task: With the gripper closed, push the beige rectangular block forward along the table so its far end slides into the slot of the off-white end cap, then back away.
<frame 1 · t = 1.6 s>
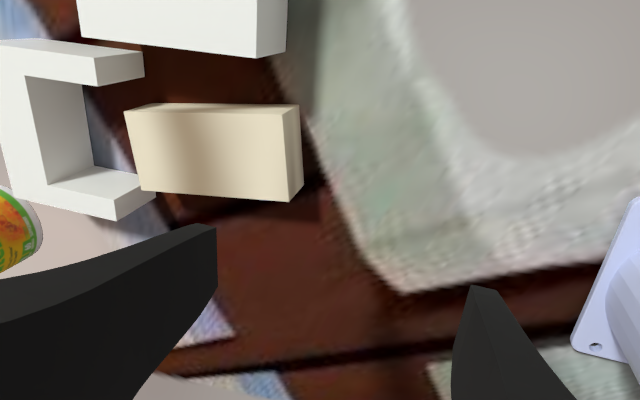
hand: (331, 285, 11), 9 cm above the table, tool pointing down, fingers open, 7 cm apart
supplement bottle: (15, 218, 28), on the table
beige rectangular block: (230, 141, 22), on the table
end cap: (98, 120, 23), on the table
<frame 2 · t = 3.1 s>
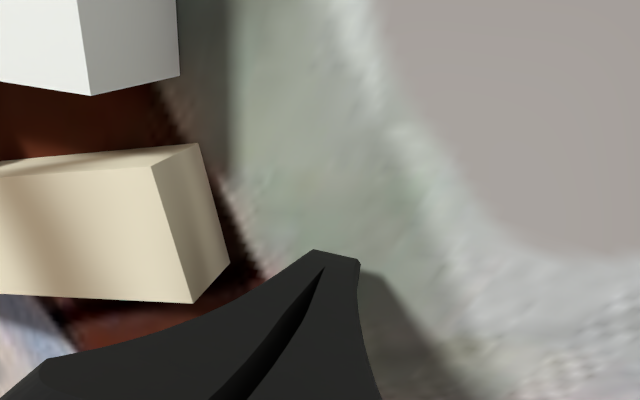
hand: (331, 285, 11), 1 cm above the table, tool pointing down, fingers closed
beige rectangular block: (118, 206, 14), on the table
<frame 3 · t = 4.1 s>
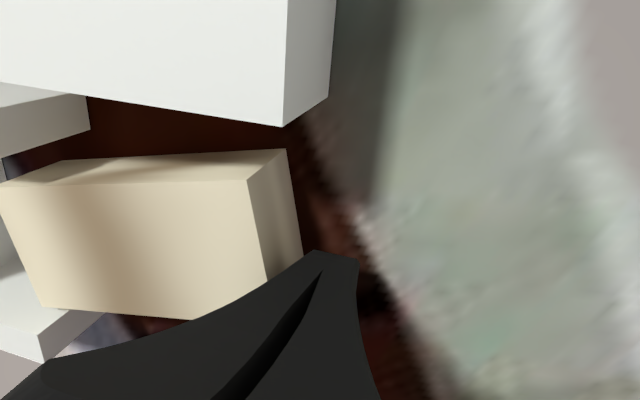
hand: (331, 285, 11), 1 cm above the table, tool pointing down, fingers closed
beige rectangular block: (179, 215, 13), on the table, touching gripper
end cap: (25, 191, 15), on the table
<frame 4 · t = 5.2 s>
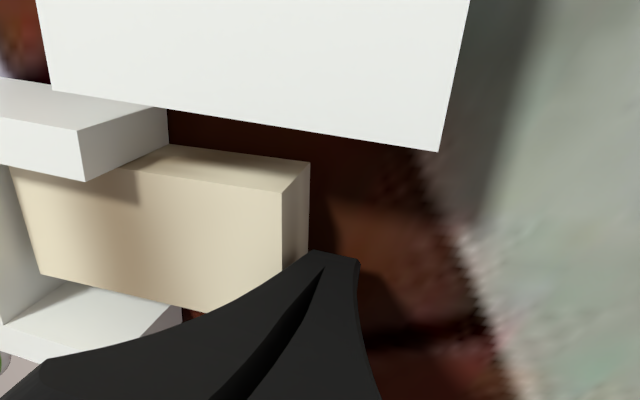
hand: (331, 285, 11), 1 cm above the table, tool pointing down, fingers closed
beige rectangular block: (192, 202, 13), on the table
end cap: (90, 206, 14), on the table
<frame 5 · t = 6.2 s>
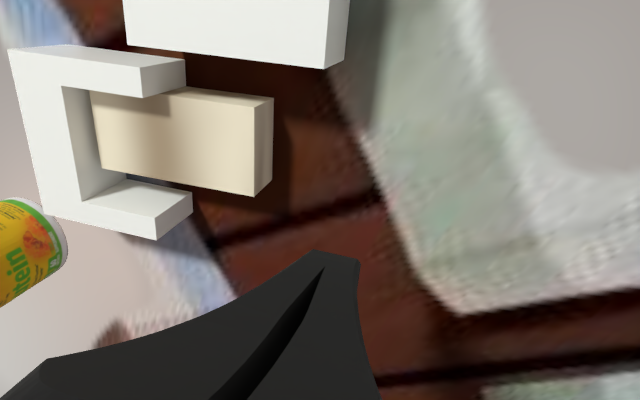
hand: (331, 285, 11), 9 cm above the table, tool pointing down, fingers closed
supplement bottle: (38, 232, 27), on the table
beige rectangular block: (200, 127, 21), on the table
end cap: (133, 132, 22), on the table
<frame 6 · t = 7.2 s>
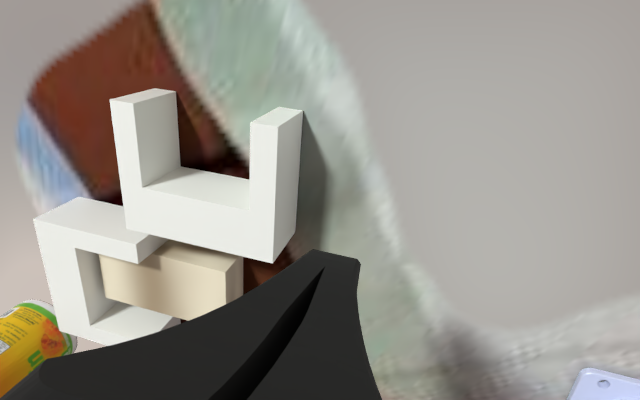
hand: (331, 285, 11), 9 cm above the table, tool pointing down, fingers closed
supplement bottle: (52, 325, 32), on the table
white u-shaped block: (226, 161, 22), on the table
beige rectangular block: (185, 262, 26), on the table
end cap: (131, 262, 27), on the table
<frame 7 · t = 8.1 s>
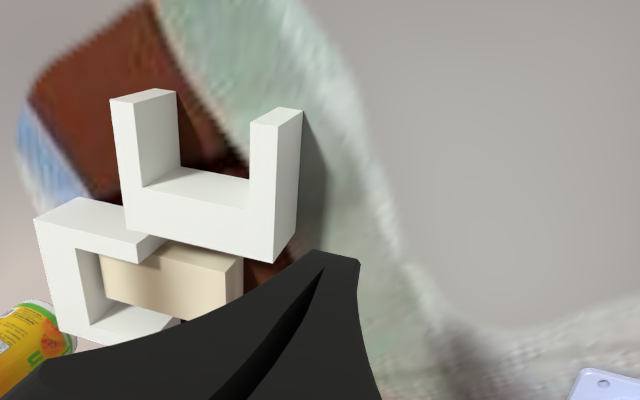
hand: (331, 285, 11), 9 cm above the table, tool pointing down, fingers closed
supplement bottle: (52, 325, 32), on the table
white u-shaped block: (226, 161, 22), on the table
beige rectangular block: (185, 262, 26), on the table
end cap: (131, 262, 27), on the table
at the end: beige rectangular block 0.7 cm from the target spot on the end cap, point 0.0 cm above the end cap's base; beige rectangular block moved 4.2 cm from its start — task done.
